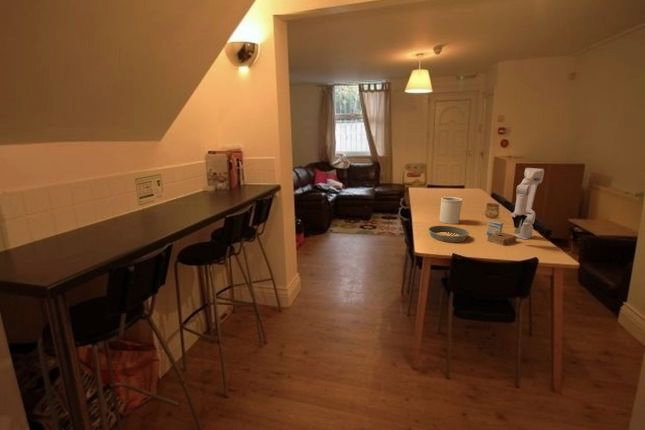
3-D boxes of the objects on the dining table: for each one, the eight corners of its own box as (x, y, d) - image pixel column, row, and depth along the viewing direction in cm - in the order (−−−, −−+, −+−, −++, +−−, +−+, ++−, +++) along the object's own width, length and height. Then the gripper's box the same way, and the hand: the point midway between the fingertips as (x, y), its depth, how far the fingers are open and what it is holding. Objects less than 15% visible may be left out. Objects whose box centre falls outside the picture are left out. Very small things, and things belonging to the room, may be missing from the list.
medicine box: (486, 234, 229) (488, 221, 227) (488, 233, 232) (490, 220, 230) (499, 237, 223) (500, 224, 221) (501, 235, 226) (503, 222, 224)
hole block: (500, 237, 223) (501, 232, 222) (515, 241, 215) (516, 236, 214) (487, 240, 215) (488, 235, 215) (502, 245, 207) (503, 239, 206)
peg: (515, 232, 211) (518, 217, 208) (520, 233, 208) (523, 218, 206) (513, 232, 209) (515, 218, 207) (518, 234, 207) (520, 219, 204)
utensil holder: (456, 219, 266) (459, 196, 261) (462, 224, 251) (465, 200, 247) (437, 218, 267) (439, 196, 263) (441, 224, 253) (443, 200, 248)
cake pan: (449, 230, 238) (450, 223, 237) (477, 240, 216) (477, 233, 215) (419, 233, 230) (420, 227, 228) (444, 245, 207) (445, 237, 206)
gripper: (521, 207, 197) (518, 230, 201) (534, 204, 205) (531, 227, 208) (509, 205, 203) (506, 227, 206) (522, 202, 211) (519, 224, 214)
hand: (517, 227), depth 208 cm, fingers closed on peg, 3 cm apart
